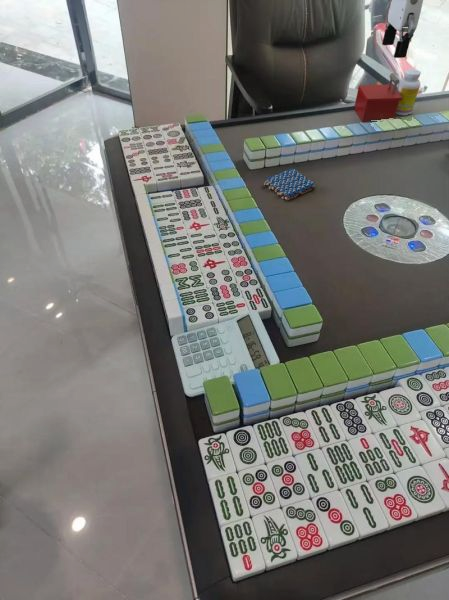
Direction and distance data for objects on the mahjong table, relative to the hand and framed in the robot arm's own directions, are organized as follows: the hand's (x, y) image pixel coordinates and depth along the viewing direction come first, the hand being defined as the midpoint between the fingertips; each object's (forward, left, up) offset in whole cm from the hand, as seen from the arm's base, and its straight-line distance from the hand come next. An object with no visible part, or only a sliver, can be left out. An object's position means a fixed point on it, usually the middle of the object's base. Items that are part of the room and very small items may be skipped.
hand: (393, 50), depth 121 cm
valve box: (-3, -11, -23) cm, 26 cm away
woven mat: (+32, +30, -23) cm, 49 cm away
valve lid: (-4, -11, -16) cm, 20 cm away
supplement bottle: (-13, -12, -23) cm, 29 cm away
